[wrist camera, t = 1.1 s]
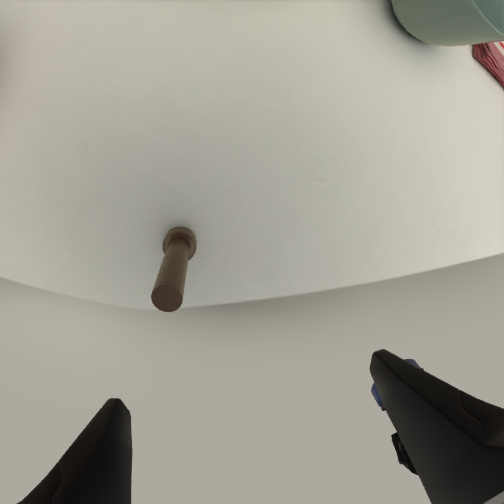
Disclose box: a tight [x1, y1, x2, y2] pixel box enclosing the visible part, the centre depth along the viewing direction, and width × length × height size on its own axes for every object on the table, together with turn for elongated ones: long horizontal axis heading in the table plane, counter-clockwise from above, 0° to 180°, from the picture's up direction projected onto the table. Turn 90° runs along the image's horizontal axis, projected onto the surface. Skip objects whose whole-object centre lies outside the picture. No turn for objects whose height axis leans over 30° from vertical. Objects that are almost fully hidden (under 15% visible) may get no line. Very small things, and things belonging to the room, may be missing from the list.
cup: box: [391, 0, 504, 46], centre depth 10 cm, size 8×8×10 cm
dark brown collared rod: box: [151, 227, 196, 312], centre depth 17 cm, size 2×2×8 cm
